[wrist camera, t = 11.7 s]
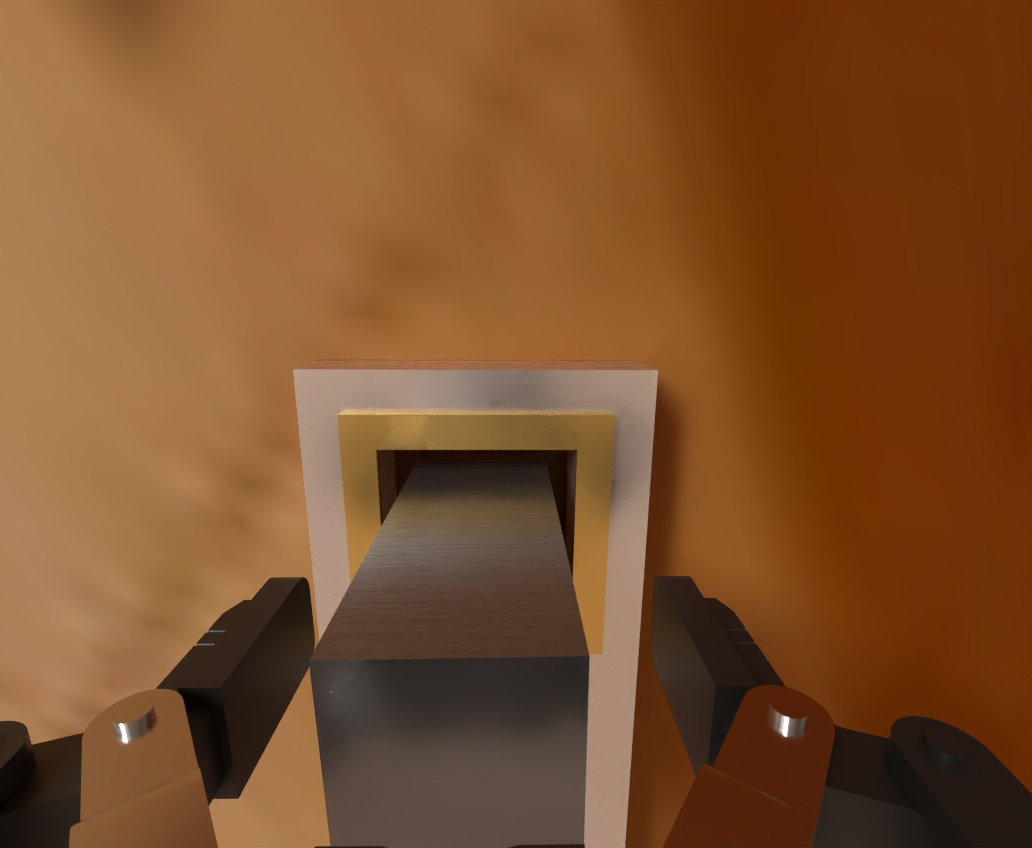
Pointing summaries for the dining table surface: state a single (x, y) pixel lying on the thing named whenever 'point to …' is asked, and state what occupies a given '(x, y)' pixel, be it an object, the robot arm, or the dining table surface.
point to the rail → (501, 426)
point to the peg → (458, 668)
